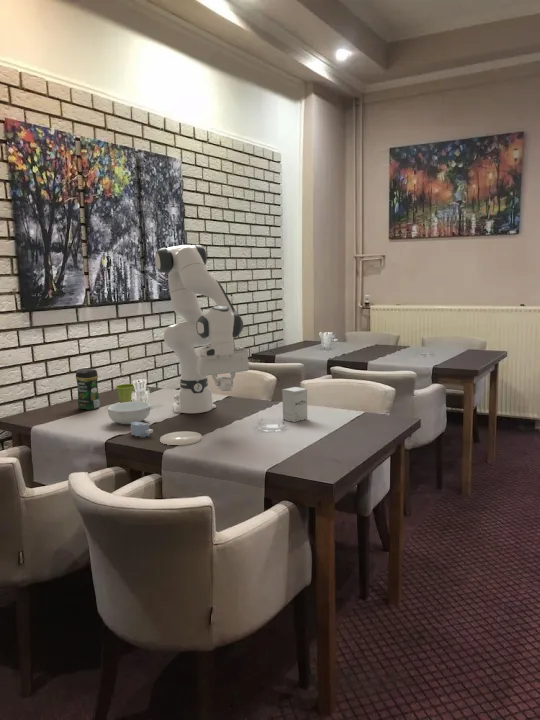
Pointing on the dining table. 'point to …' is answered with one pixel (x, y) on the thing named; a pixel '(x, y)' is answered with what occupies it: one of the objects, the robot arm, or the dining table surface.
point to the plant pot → (124, 392)
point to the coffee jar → (87, 389)
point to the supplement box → (294, 404)
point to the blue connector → (140, 429)
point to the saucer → (181, 438)
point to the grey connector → (224, 383)
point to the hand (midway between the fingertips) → (224, 385)
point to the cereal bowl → (129, 412)
